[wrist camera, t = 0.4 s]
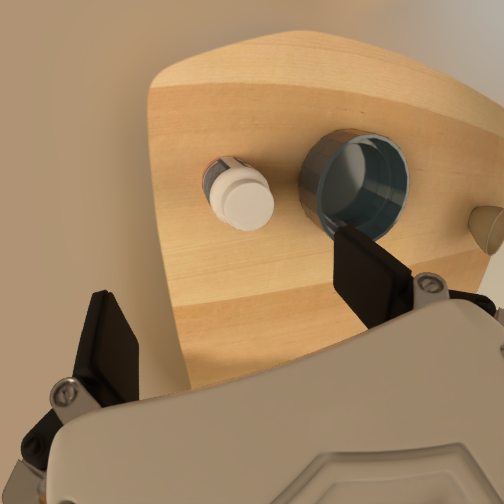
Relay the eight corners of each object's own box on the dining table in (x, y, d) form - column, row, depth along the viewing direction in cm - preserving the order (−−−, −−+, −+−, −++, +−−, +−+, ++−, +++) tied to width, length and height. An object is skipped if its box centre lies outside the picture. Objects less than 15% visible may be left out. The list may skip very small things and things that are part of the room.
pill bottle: (203, 207, 30) (217, 244, 22) (198, 159, 27) (211, 179, 20) (252, 200, 31) (281, 233, 23) (250, 153, 28) (281, 171, 21)
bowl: (290, 135, 29) (311, 141, 24) (382, 125, 31) (410, 131, 26) (301, 240, 35) (319, 260, 31) (382, 217, 37) (405, 231, 33)
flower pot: (479, 186, 41) (506, 199, 35) (488, 213, 46) (511, 227, 40) (456, 224, 44) (483, 241, 38) (467, 248, 49) (490, 264, 42)
